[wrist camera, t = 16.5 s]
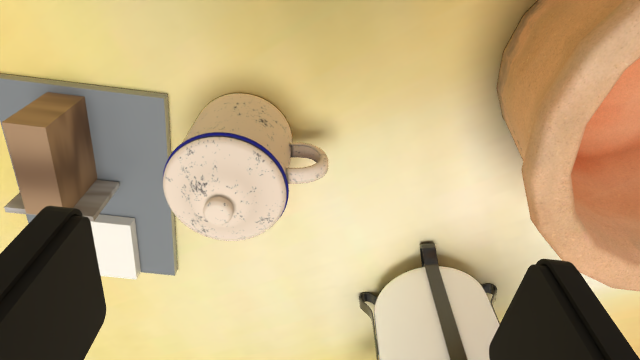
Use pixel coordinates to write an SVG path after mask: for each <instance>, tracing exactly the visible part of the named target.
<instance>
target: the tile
mask: <svg viewBox="0 0 640 360" xmlns="http://www.w3.org/2000/svg"><path fill="white" fill-rule="evenodd" d="M90 222H91V227H92V233H93V238H94V244H95V249H96V255H97V260H98V265H99V271H100V276H108V277H118V278H128V279H137V278H138V276H139V274H140V272H141V268H140V259H139V250H138V241H137V233H136V224H135V218H129V217H119V216H110V215H101V214H99V215H98V217H97V218H96V219H95V221H94V222H93V221H90Z"/></svg>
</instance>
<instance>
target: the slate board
mask: <svg viewBox="0 0 640 360" xmlns="http://www.w3.org/2000/svg"><path fill="white" fill-rule="evenodd" d="M46 92H52V93H60V94H68V95H76V96H84V97H85V102H86V108H87V114H88V121H89V127H90V134H91V140H92V146H93V153H94V159H95V165H96V172H97V178H98V179H97V180H104V181H112V182H119V188H118V189H117V191H116V192H115V194H114V195H113V196H112V198H111V199H110V200H109V202H108V203H107V204H106V206H105V207H104V208H103V210H102V211H101V213H100V214H101V215H110V216H119V217H129V218H135V224H136V233H137V241H138V250H139V259H140V268H141V272H145V273H155V274H165V275H175V274H176V272H177V269H178V267H177V249H176V231H175V214H174V213H173V211H172V210H171V208H170V206H169V205H168V202H167V200H166V197H165V194H164V190H163V171H164V168H165V165H166V162H167V160H168V158H169V156H170V155H171V143H170V126H169V108H168V94H163V93H155V92H147V91H139V90H131V89H122V88H114V87H106V86H98V85H90V84H82V83H74V82H66V81H58V80H50V79H42V78H34V77H25V76H17V75H9V74H1V73H0V122H1V125H2V122H3V121H4V120H6V119H7V118H9V117H10V116H12V115H13V114H15V113H16V112H18V111H19V110H21V109H22V108H24V107H25V106H27V105H28V104H30V103H31V102H33V101H34V100H36V99H37V98H39V97H40V96H42V95H43V94H45V93H46ZM2 129H3V126H2ZM3 133H4V130H3ZM4 136H5V134H4ZM5 140H6V137H5ZM6 143H7V141H6ZM7 147H8V145H7ZM8 151H9V148H8ZM9 154H10V152H9ZM10 158H11V156H10ZM11 161H12V159H11ZM12 165H13V163H12ZM13 169H14V167H13ZM14 172H15V170H14ZM15 176H16V174H15ZM16 180H17V178H16ZM17 183H18V181H17ZM18 187H19V185H18ZM19 190H20V189H19ZM26 216H27V219H28V223H30V222H31V221H32V220H33V219H34V218H35V216H36V215H29V214H26Z"/></svg>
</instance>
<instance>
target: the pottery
mask: <svg viewBox="0 0 640 360" xmlns="http://www.w3.org/2000/svg"><path fill="white" fill-rule="evenodd" d="M497 91H498V96H499V101H500V106H501V111H502V117H503V119H504V120H505V122H506V124H507V126H508V128H509V130H510V132H511V135H512V137H513V139H514V141H515V144H516V146H517V148H518V150H519V152H520V155H521V157H522V159H523V161H524V162H523V166H522V175H523V180H524V186H525V191H526V196H527V202H528V207H529V212H530V218H531V220H532V222H533V223H534V225H535V226H536V228H537V229H538V231H539V232H540V233H541V235H542V236H543V237H544V238H545V240H546V241H547V242H548V243H549V245H550V246H551V247H552V248H553V250H554V251H555V252H556V253H557V254H558V256H559V257H560V258H561V259H562V261H568V262H571V263H572V264H573V265H574V266H575V267H576V268H577V270H578V271H579V272H580V273H583V274H585V275H587V276H589V277H591V278H593V279H595V280H597V281H599V282H601V283H603V284H605V285H607V286H610V287H612V288H617V289H626V290H634V291H640V0H538V1H537V2H536V3H535V4H534V5H533V6H532V7H531V8H530V9H529V10H528V11H527V12H526V13H525V14H524V15H523V17H522V19H521V21H520V22H519V24H518V26H517V28H516V30H515V32H514V33H513V35H512V37H511V39H510V41H509V43H508V44H507V46H506V48H505V50H504V52H503V56H502V62H501V67H500V73H499V78H498V83H497Z"/></svg>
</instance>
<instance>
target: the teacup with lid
mask: <svg viewBox="0 0 640 360" xmlns="http://www.w3.org/2000/svg"><path fill="white" fill-rule="evenodd" d="M291 157H303V158H309V159H312V160H314V161H315V162H317V163H316V164H314V165H312V166H309V167H303V168H289V165H290V158H291ZM327 170H328V158H327V155H326V154H325V152H324V151H323V150H321V149H320V148H318V147H317V146H314V145H311V144H306V143H292V134H291V130H290V127H289V124H288V122H287V120H286V119H285V117H284V116H283V114H282V113H281V112H280V111H279V110H278V109H277V108H276V107H275V106H274V105H272V104H271V103H269V102H268V101H266V100H264V99H262V98H260V97H257V96H254V95H250V94H243V93H235V94H228V95H224V96H221V97H219V98H217V99H215V100H213V101H212V102H210V103H209V104H208V105H207V106H205V108H204V109H203V110H202V111H201V113H200V114H199V116H198V117H197V119H196V121H195V122H194V124H193V126H192V127H191V129H190V131H189V132H188V134H187V135H186V137H185V139H184V140H183V142H182V144H180V145H179V146H178V147H177V148H176V149H175V150H174V151H173V152H172V154H171V155H170V156H169V158H168V160H167V162H166V165H165V168H164V171H163V190H164V194H165V197H166V200H167V202H168V205H169V206H170V208H171V210H172V211H173V213H174V214H175V215H176V216H177V218H178V219H179V220H180V221H181V222H182V223H184V224H185V225H186V226H187V227H189V228H190V229H192V230H193V231H195V232H197V233H199V234H201V235H204V236H206V237H209V238H213V239H217V240H225V241H238V240H245V239H249V238H252V237H255V236H257V235H260V234H261V233H263V232H265V231H266V230H268V229H269V228H270V227H272V226H273V225H274V224H275V223H276V222H277V220H278V219H279V218H280V217H281V215H282V214H283V212H284V210H285V208H286V205H287V201H288V194H289V188H288V184H298V183H308V182H312V181H315V180H318V179H320V178H322V177H323V176H324V175H325V174H326V173H327Z"/></svg>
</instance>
